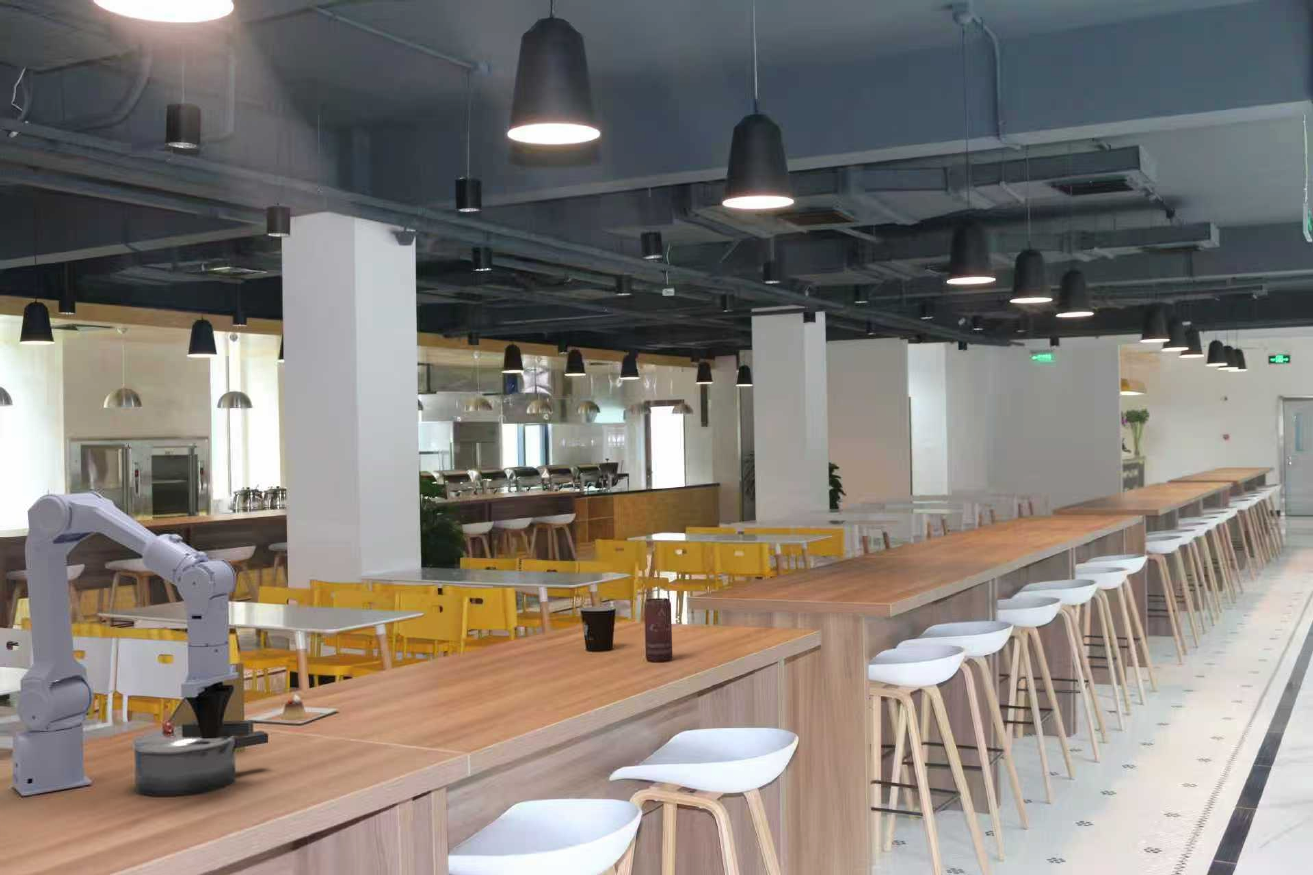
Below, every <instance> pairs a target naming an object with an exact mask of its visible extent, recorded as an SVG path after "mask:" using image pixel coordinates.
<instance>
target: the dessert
mask: <svg viewBox="0 0 1313 875" xmlns="http://www.w3.org/2000/svg"><path fill="white" fill-rule="evenodd" d="M340 709H341V708H330V707H329V708H326V707H308V706H304V702H303V701H302V700H301V697H300V695H299V696H298V694H294V697H293V699H292V697H290V698H289V699H287V702H285V704H284V707H282V708H278V709H275V710H272V711H269V712H266V713H263V714H260V715H257V716H253V717H251V718H248V719H246V720H253V723H261V724H277V725H279V724H281V725H294V726H295V725H297V726H298V725H300V726H301V725H303V724H307V723H309V722H313V721H315V720H317V719H320V718H324V717H327V716H329V715H333V714H335V713H336V712H338V711H339V710H340ZM307 713H319V714H321V713H323V714H321V715H317V716H315V717H312V718H309V719H306V720H303V721H301V722H300V721H296V720H302V719H305V718H307V717H308V716H307ZM281 714H282V716H281V720H267V719H269V718H271V717H276V716H278V715H281ZM284 720H285V721H284ZM294 720H295V721H294Z"/></svg>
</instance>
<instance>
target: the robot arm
mask: <svg viewBox="0 0 1313 875" xmlns="http://www.w3.org/2000/svg"><path fill="white" fill-rule="evenodd" d="M27 521H28V523H27V524H28V533H27V536H26V540H25V545H24V555H25V568H26V582H27V583H26V584H27V593H28V597H27V598H28V606H29V607H28V608H29V621H30V632H31V633H30V634H31V645H32V657H33V658H32V660H33V664H32V665H31V666H30V668H28V670H27V671H26V673H25V674H24V675H23V676H22V677H21V679H20V681H19V684H20V692H19V696H18V699H17V702H16V712H17V715H18V718H19V720H20V722H21V723H22V724H23V725H24V726H25V730H20V731H16V732H15V733H13V737H12V778H13V779H12V787H13V788H14V790H16V791H17V792H18V794H20V795H21V796H23V797H26V796H31V795H32V796H33V795H38V794H43V793H49V792H54V791H55V792H56V791H60V790H66V789H73V788H77V787H83V786H89V785H90V786H91V785H92V784H93V781H92V780H91V779H90V778H89V777H87V776H86V775H85V762H84V761H85V755H84V753H85V752H84V722H85V721H86V720H87V718H86V716H87V715H86V714H87V713H88V712H90V710H91V709H92V707H93V704H94V699H95V694H94V690H93V687H92V685H91V684H90V682H89V679H88V674H87V668H86V667H85V666H84V665H83V664H82V663H81V662H79V661H78V660H77V659H76V658H75V654H74V652H75V651H74V641H73V640H74V639H73V638H74V637H73V628H72V614H71V603H70V602H71V601H70V590H69V589H70V588H69V578H68V577H69V576H68V574H69V573H68V563H67V562H68V561H67V556H68V555H69V553H70V552H71V551H72V550H73V549H74V548H75V547H76V546H77V545H78V543H80V542H82V541H83V540H86V539H87V538H89V537H91V536H92V535H94V534H96V533H100V534H102V535H104V536H106V537H107V538H109V539H111V540H113V541H115V542H118V543H119V544H121V545H123V546H125V547H127V548H128V549H130V550H132V551H134V552H135V553H138V554H139V555H141V556H142V563H143V565H144V567H145V568H147V569H148V570H150V571H151V572H153V573H155V574H156V575H158V576H159V577H161V578H162V579H164V580H166V581H167V582H169V583H170V584H172V585H174V586H175V587H176V588H177V591H178V594H179V596H180V597H181V599H182V600H183V602H184V611H186V625H187V627H186V628H187V666H188V668H187V670H188V672H187V674H188V675H187V676H186V678H185V679H184V682H182V683H181V684H180V686H181V687H180V691H181V692H180V694H181V696H180V697H181V698H184V697H186V699H187V700H188V702H189V703H190V705H191V707H192V709H193V711H194V713H195V716H196V719H197V722H198V726H199V729H200V733H201V736H202V739H215V738H217V737H219V736H220V732H221V728H222V723H223V718H224V713H225V710H226V706H227V704H228V701H229V699H230V697H231V695H232V693H233V691H234V686H233V685H223V682H224V681H226V680H230V679H235V678H238V673H236V666H235V665H230V664H231V658H230V657H231V655H230V654H231V651H230V648H231V647H230V645H231V644H230V613H229V612H230V609H229V608H230V607H229V606H230V604H229V600H230V599H229V595H231V594H232V593H233V592H234V590H235V588H236V584H237V575H236V572H235V569H234V568H233V567H232V565H231V564H230V563H228V562H227V560H226V559H224V558H212V559H209V557H208V554H207V553H206V552H204V551H198V550H196V549H194V548H193V547H191V546H189V545H187V543H185V542H183V541H182V540H183V537H182V536H180V534H177V533H174V534H169V533H164V534H160V535H157V534H155V533H153V532H152V531H150V530H149V529H147V528H146V527H144V525H142V524H140V523H139V522H138V521H137V520H135V519H133V518H132V517H131V516H129V515H128V514H126V512H123V511H122V510H120V509H119V508H118V507H117V506H116V505H115V503H114V502H113V500H111V499H108V498H107V497H104V496H102V495H101V494H100V493H98V492H95V491H86V492H81V493H61V494H57V493H56V494H55V493H48V494H47V493H46V494H44V495H42V496H40V497H39V498H38V499H37V500H36V501H35V503H33V504H32V505H31V507H29V509H28V510H27Z"/></svg>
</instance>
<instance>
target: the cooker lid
mask: <svg viewBox="0 0 1313 875" xmlns="http://www.w3.org/2000/svg"><path fill="white" fill-rule="evenodd" d="M161 726H162V727H161V729H155V730H152V731H148V732H145V733H142V734H140V735H138V736H137V735H136V737H134V738H133V739H132V749H133V751H134V752H135V751H138V752H142V753H150V754H172V753H184V752H193V751H199V750H205V749H210V748H214V747H218V746H222V745H225V744H227V743H230V742H232V741H233V740H235V739H236V736H246V735H250V734H252V733H253V732H254V722H253V720H247V719H246V720H245V719H244V721H223V723H222V728H221V732H220V736H219V737H217V738H215V739H202V736H201V733H200V729H199V726H198V722H197V721H194V722H186V723H184V724H182V726H178V727H174V722H168V721H167V722H163V723H161Z"/></svg>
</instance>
